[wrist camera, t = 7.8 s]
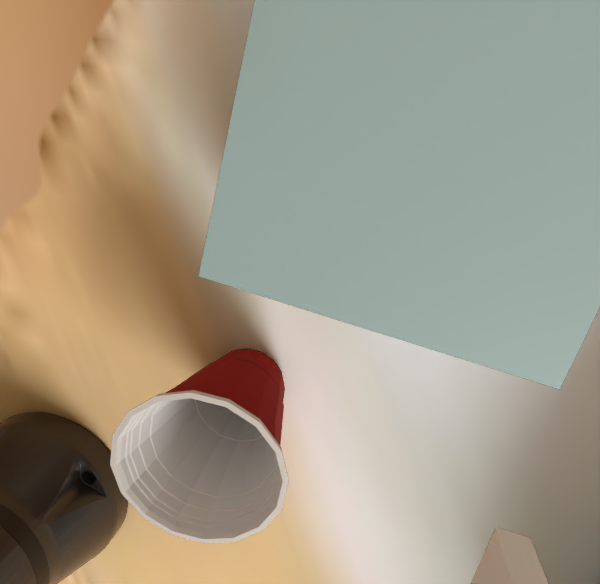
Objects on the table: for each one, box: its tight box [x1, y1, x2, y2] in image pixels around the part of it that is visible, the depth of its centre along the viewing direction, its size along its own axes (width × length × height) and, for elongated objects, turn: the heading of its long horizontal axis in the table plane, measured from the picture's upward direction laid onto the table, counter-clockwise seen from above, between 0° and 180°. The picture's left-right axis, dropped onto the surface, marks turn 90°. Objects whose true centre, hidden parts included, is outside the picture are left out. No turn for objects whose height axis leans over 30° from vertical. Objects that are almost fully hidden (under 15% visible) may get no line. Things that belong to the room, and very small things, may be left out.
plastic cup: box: [110, 349, 289, 543], centre depth 34 cm, size 11×11×12 cm
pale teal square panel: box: [199, 0, 600, 389], centre depth 22 cm, size 19×18×1 cm
